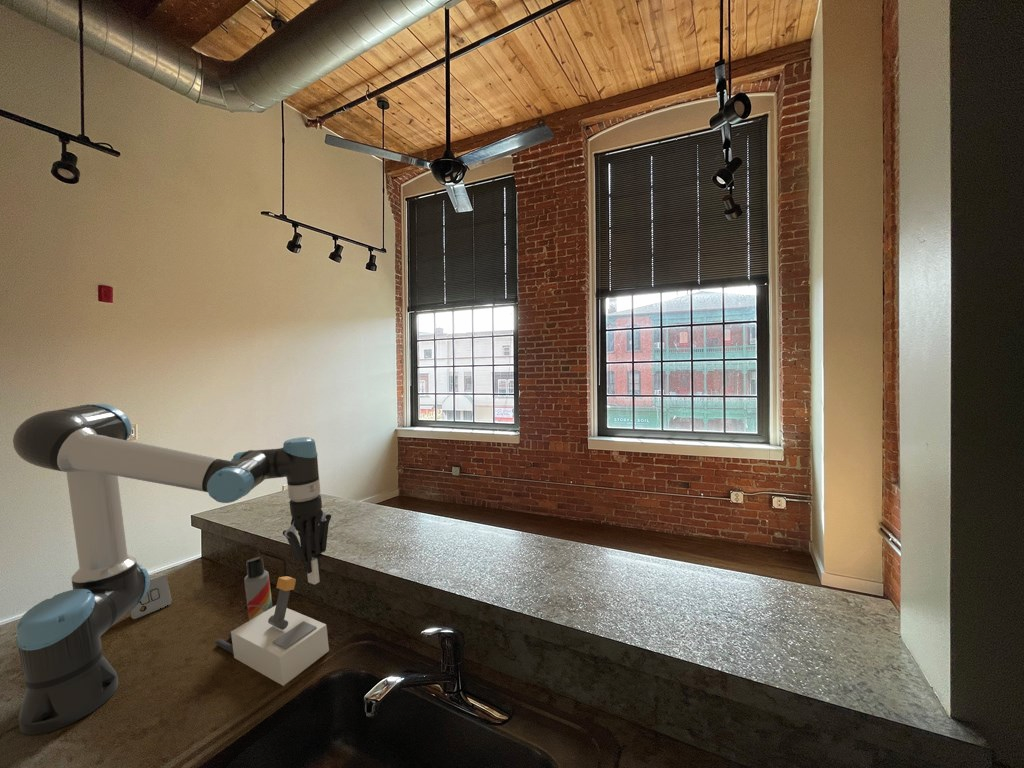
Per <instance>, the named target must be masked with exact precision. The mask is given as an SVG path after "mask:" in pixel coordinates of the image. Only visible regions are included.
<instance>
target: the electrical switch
mask: <svg viewBox="0 0 1024 768" xmlns="http://www.w3.org/2000/svg"><path fill="white" fill-rule="evenodd" d="M172 600H173V599H172V595H171V590H170V585H169V581H168V577H167V575H166V574H161V575H159V576H155V577H152V578H150V585H149V589H148V591H147V593H146V595H145V596H144V598H143V599H142V600H141V601H140V602H139V603H138V605H137V606H135V608H134V609H133V610H131V611H130V617H131V619H132V620H137V619H139V618H142V617H144V616H146V615H148V614H151V613H154V612H156V611H158V610H161V609H163V608H166V607H168V606H170V605H172V602H173V601H172ZM167 605H168V606H167ZM165 606H166V607H165ZM142 608H143V610H142ZM160 608H161V609H160Z"/></svg>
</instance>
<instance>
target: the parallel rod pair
mask: <svg viewBox="0 0 1024 768" xmlns="http://www.w3.org/2000/svg"><path fill="white" fill-rule="evenodd" d="M227 637H228V638H230V639H231V640H232V636H231V631H230V632H229V633H228V636H227ZM215 644H216V645H217V646H218V647H220V648H222V649H223V650H225V651H227V652H228V653H231V654H232V655H234V652H233V644H232V643H229V642H227V641H225V640H224V639H222V638H218V639H217V640H216V642H215Z"/></svg>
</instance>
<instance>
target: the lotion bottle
mask: <svg viewBox="0 0 1024 768" xmlns="http://www.w3.org/2000/svg"><path fill="white" fill-rule="evenodd" d="M245 563H246V572H247V574H246V576H245V577H244V578H243V579H244V580H243V581H244V590H245V598H246V605H247V607H246V608H247V615H248V621H250V620H251V619H253V618H255V617H257V616H258V615H260V614H262V613H263V612H265V611H267V610H269V609H270V608H272V607H273V601H272V591H271V583H270V574H269V571H267V570H266V569H265V567H264V557H263V556H262V555H259V556H258V555H257V556H256V557H255V556H254V557H252V558H250V559H248V560H246V562H245Z"/></svg>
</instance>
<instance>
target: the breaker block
mask: <svg viewBox="0 0 1024 768" xmlns="http://www.w3.org/2000/svg"><path fill="white" fill-rule="evenodd" d="M275 608H276V604H275V605H274V606H272V608H270V609H269V610H267V611H265V612H263V613H262V614H260V615H258V616H257V617H255V618H253V619H251V620H250V621H249V620H248V621H247V622H245V623H242V624H241V625H240V626H238V627H236V628H235V629H233V630H231V631H230V632H231V636H232V639H231V642H232V643H231V645H233V652H234V654H233V658H234V659H236V660H237V661H239V662H241V663H243V664H244V665H246V666H248V667H249V668H251V669H253V670H254V671H256V672H258V673H260V674H261V675H263V676H265V677H267V678H269V679H270V680H272V681H274V682H276V683H277V684H278V685H281V686H282V687H284V686H286V684H288V683H289V682H290V681H292V680H294V678H296V677H297V676H299V674H301V673H303V672H304V671H305V670H306V669H308V668H309V667H310V666H311V665H312V664H314V663H315V662H316V661H318V660H320V658H322V657H323V656H324V655H326V654H327V653H328V652H329V651H330V647H329V639H328V638H329V637H328V636H329V635H328V627H327V624H326V623H324V622H321V621H319V620H316V619H314V618H312V617H309V616H308V615H304V614H302V613H300V612H297V611H296V610H293V609H290V608H288V607H287V609H286V613H285V618H284V620H286V621H288V626H287V627H286V628H285V629H284V630H281V629H279V628H277V627H275V626H273V625H271V624H269V623H268V620H269V618H270V617H271V616H272V615H274V613H275Z"/></svg>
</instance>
